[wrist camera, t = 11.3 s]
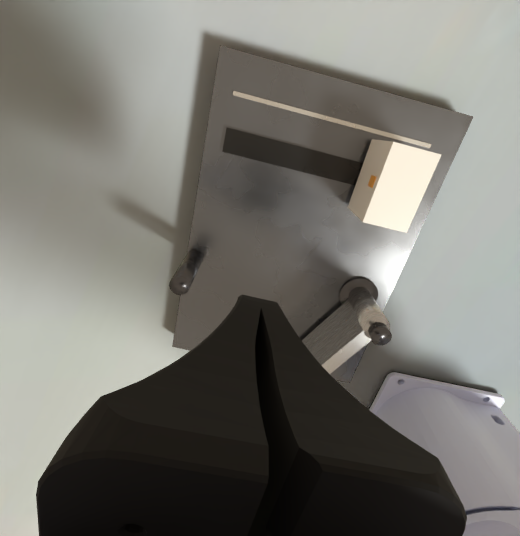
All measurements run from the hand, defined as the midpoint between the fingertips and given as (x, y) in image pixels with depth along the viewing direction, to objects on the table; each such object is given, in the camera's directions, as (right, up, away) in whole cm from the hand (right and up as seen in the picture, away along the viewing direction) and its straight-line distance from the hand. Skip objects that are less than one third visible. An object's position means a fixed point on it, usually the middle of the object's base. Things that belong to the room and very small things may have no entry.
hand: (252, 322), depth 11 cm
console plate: (+3, +3, +9) cm, 10 cm away
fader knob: (+7, +7, +6) cm, 11 cm away
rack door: (+4, -3, +10) cm, 11 cm away
